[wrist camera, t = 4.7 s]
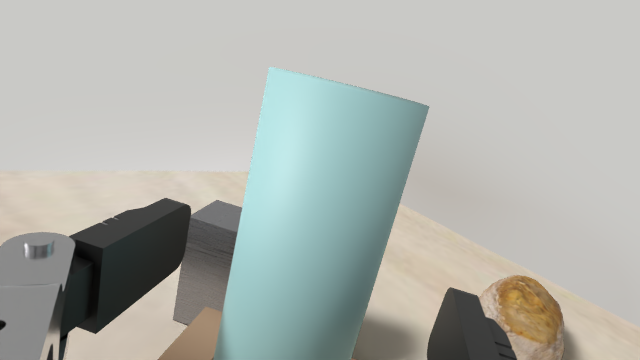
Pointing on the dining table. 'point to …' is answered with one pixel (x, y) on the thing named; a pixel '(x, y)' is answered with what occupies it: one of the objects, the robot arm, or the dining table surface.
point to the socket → (197, 338)
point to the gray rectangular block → (207, 260)
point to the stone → (526, 317)
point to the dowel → (315, 217)
